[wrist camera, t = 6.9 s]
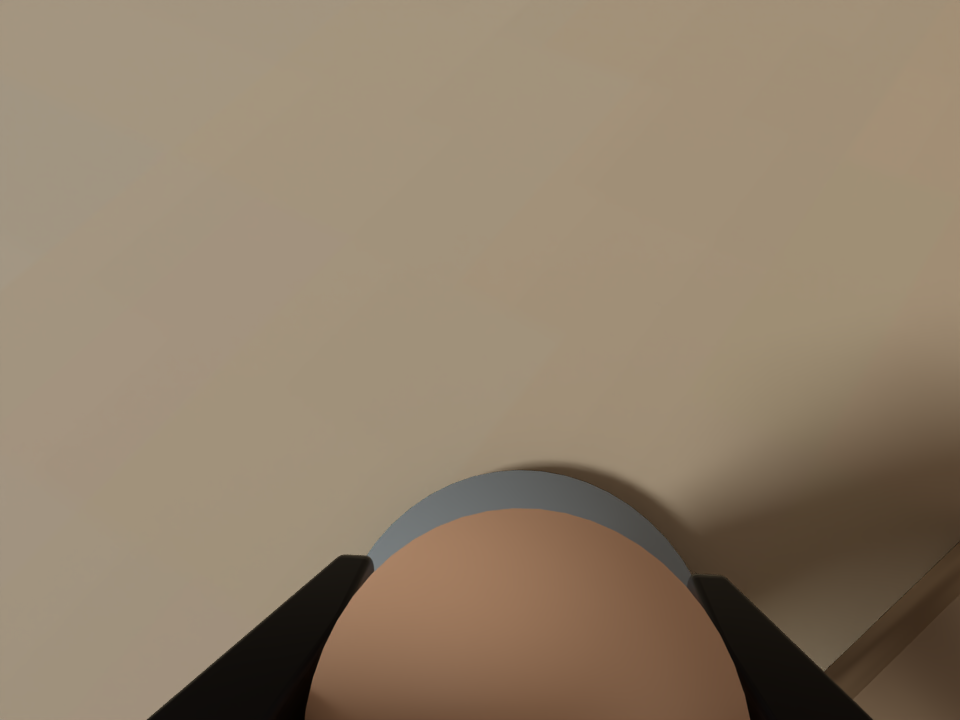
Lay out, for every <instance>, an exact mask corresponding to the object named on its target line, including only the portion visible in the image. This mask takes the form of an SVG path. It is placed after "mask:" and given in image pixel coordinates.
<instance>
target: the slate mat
mask: <svg viewBox="0 0 960 720" xmlns="http://www.w3.org/2000/svg"><path fill="white" fill-rule="evenodd" d="M511 508H522V509H543V510H549V511H556V512H562V513H567V514H570V515H574V516H577V517H581V518H584V519H587V520H591V521H593V522H596V523H598V524H600V525H602V526H605V527H607V528H609V529H612V530H614V531H616V532H618V533H620V534H621V535H623V536H625V537H626V538H628V539H630V540H631V541H633V542H635V543H636V544H638V545H640V546H641V547H643V548H644V549H645V550H646V551H648V552H649V553H650V554H652V555H653V556H654V557H655V558H657V559H658V560H659V561H661V562H662V563H663V564H664V565H665V566H666V567H667V568H668V569H669V570H670V571H671V572H672V573H673V574H674V575H675V576H676V577H677V578H678V579H679V580H680V581H681V582H682V583H683V584H684V585H685V586H686V587H687V582H688V579H689V577H690V576H691V573H690V571H689V570H688V568H687V566H686V565H685V563H684V561H683V560H682V558H681V557H680V556H679V555H678V553H677V552H676V551H675V549H674V548H673V547H672V545H671V544H670V543H669V541H668V540H667V539H666V538H665V537H664V536H663V535H662V534H661V533H660V532H659V531H658V530H657V529H656V528H655V527H654V526H653V525H652V524H651V523H650V522H649V521H648V520H647V519H646V518H645V517H643V516H642V515H641V514H640V513H638V512H637V511H636V510H635V509H633V508H632V507H631V506H630V505H628V504H626V503H625V502H623V501H622V500H620V499H618V498H617V497H615V496H613V495H612V494H610V493H609V492H607V491H604V490H602V489H600V488H598V487H596V486H593V485H591V484H589V483H587V482H584V481H581V480H577V479H574V478H571V477H568V476H565V475H559V474H554V473H548V472H543V471H526V470H513V471H501V472H493V473H488V474H483V475H479V476H474V477H470V478H468V479H465V480H462V481H459V482H456V483H454V484H451V485H449V486H447V487H445V488H443V489H441V490H439V491H437V492H435V493H433V494H431V495H429V496H428V497H426V498H425V499H423V500H422V501H420V502H419V503H417V504H416V505H414V506H413V507H411V508H410V509H409V510H408V511H407V512H405V513H404V514H403V515H402V516H401V517H400V518H399V519H397V520H396V521H395V522H394V523H393V524H392V525H391V526H390V527H389V528H388V529H387V530H386V532H385V533H384V534H383V535H382V536H381V537H380V538H379V540H378V541H377V542H376V543H375V544H374V546H373V547H372V549H371V550H370V552H369V553H368V555H367V556H369V557H370V558H371V559H372V561H373V564H374V571H376V570H377V569H378V568H379V567H380V566H381V565H382V564H383V563H384V562H385V561H386V560H387V559H388V558H389V557H390V556H392V555H393V554H394V553H396V552H397V551H399V550H400V549H401V548H403V547H404V546H405V545H407V544H408V543H410V542H411V541H412V540H414V539H416V538H417V537H419V536H421V535H423V534H425V533H427V532H428V531H430V530H432V529H434V528H436V527H438V526H440V525H443V524H446V523H448V522H451V521H453V520H456V519H458V518H461V517H465V516H469V515H473V514H477V513H481V512H485V511H492V510H502V509H511Z"/></svg>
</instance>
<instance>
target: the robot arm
mask: <svg viewBox="0 0 960 720" xmlns="http://www.w3.org/2000/svg"><path fill="white" fill-rule="evenodd" d="M373 572H374V564H373V561H372V559H371V558H370V557H369V556H364V555H341V556H339V557H337V558H336V559H335V560H334V561H333V562H331V563H330V564H329V565H328V566H327V567H325V568H324V569H323V570H322V571H321V572H320V573H318V574H317V575H316V576H315V577H314V578H313V579H311V580H310V581H309V582H308V583H307V584H305V585H304V586H303V587H302V588H301V589H300V590H298V591H297V592H296V593H295V594H294V595H293V596H291V597H290V598H289V599H288V600H287V601H286V602H284V603H283V604H282V605H281V606H280V607H278V608H277V609H276V610H275V611H274V612H273V613H271V614H270V615H269V616H268V617H267V618H266V619H264V620H263V621H262V622H261V623H260V624H259V625H257V626H256V627H255V628H254V629H253V630H251V631H250V632H249V633H248V634H247V635H246V636H244V637H243V638H242V639H241V640H240V641H239V642H237V643H236V644H235V645H234V646H233V647H232V648H230V649H229V650H228V651H227V652H226V653H224V654H223V655H222V656H221V657H220V658H219V659H217V660H216V661H215V662H214V663H213V664H212V665H210V666H209V667H208V668H207V669H206V670H205V671H203V672H202V673H201V674H200V675H199V676H197V677H196V678H195V679H194V680H193V681H192V682H190V683H189V684H188V685H187V686H186V687H185V688H183V689H182V690H181V691H180V692H179V693H177V694H176V695H175V696H174V697H173V698H172V699H170V700H169V701H168V702H167V703H166V704H165V705H163V706H162V707H161V708H160V709H159V710H158V711H156V712H155V713H154V714H153V715H152V716H150V717H149V718H148V719H147V720H305V712H306V706H307V701H308V697H309V693H310V689H311V684H312V680H313V676H314V673H315V671H316V668H317V665H318V662H319V659H320V657H321V654H322V651H323V648H324V646H325V644H326V642H327V640H328V638H329V636H330V634H331V632H332V630H333V628H334V626H335V624H336V622H337V620H338V619H339V617H340V616H341V614H342V612H343V611H344V609H345V608H346V606H347V605H348V603H349V602H350V600H351V599H352V597H353V596H354V595H355V593H356V592H357V591H358V590H359V589H360V587H361V586H362V585H363V584H364V583H365V581H366V580H367V579H368V578H369V577H370V575H371V574H372V573H373ZM687 588H688V589H689V591H690V592H691V593H692V594H693V596H694V597H695V598H696V599H697V601H698V602H699V603H700V605H701V606H702V607H703V608H704V610H705V611H706V613H707V615H708V616H709V618H710V619H711V621H712V623H713V624H714V626H715V627H716V629H717V631H718V632H719V634H720V635H721V638H722V640H723V642H724V644H725V646H726V648H727V650H728V652H729V654H730V657H731V659H732V661H733V663H734V665H735V668H736V671H737V674H738V677H739V680H740V683H741V686H742V689H743V692H744V694H745V698H746V703H747V707H748V712H749V717H750V720H873V719H872V718H871V717H870V716H869V715H868V714H867V713H866V712H865V711H864V710H863V709H862V708H861V707H860V706H859V705H858V704H857V703H856V702H855V701H854V700H853V699H852V698H851V697H850V696H849V695H847V694H846V693H845V692H844V691H843V690H842V689H841V688H840V687H839V686H838V685H837V684H836V683H835V682H834V681H833V680H832V679H831V678H830V677H829V676H828V675H827V674H826V673H825V672H824V671H823V670H822V669H820V668H819V667H818V666H817V665H816V664H815V663H814V662H813V661H812V660H811V659H810V658H809V657H808V656H807V655H806V654H805V653H804V652H803V651H802V650H801V649H800V648H799V647H798V646H797V645H796V644H795V643H793V642H792V641H791V640H790V639H789V638H788V637H787V636H786V635H785V634H784V633H783V632H782V631H781V630H780V629H779V628H778V627H777V626H776V625H775V624H774V623H773V622H772V621H771V620H770V619H769V618H767V617H766V616H765V615H764V614H763V613H762V612H761V611H760V610H759V609H758V608H757V607H756V606H755V605H754V604H753V603H752V602H751V601H750V600H749V599H748V598H747V597H746V596H745V595H744V594H743V593H742V592H740V591H739V590H738V589H737V588H736V587H735V586H734V585H733V584H732V583H731V582H730V581H729V580H728V579H727V578H725V577H724V576H721V575H711V574H693V575H691V576H690V577H689V579H688V582H687Z"/></svg>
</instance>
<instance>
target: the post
mask: <svg viewBox="0 0 960 720" xmlns="http://www.w3.org/2000/svg"><path fill="white" fill-rule="evenodd" d="M305 720H750V717H749V712H748V707H747V703H746V698H745V694H744V692H743V689H742V686H741V683H740V680H739V677H738V674H737V671H736V668H735V665H734V663H733V661H732V659H731V657H730V654H729V652H728V650H727V648H726V646H725V644H724V642H723V640H722V638H721V635H720V634H719V632H718V631H717V629H716V627H715V626H714V624H713V623H712V621H711V619H710V618H709V616H708V615H707V613H706V611H705V610H704V608H703V607H702V606H701V605H700V603H699V602H698V601H697V599H696V598H695V597H694V596H693V594H692V593H691V592H690V591H689V589H688V588H687V587H686V586H685V585H684V584H683V583H682V582H681V581H680V580H679V579H678V578H677V577H676V576H675V575H674V574H673V573H672V572H671V571H670V570H669V569H668V568H667V567H666V566H665V565H664V564H663V563H662V562H661V561H659V560H658V559H657V558H655V557H654V556H653V555H652V554H650V553H649V552H648V551H646V550H645V549H644V548H643V547H641V546H640V545H638V544H636V543H635V542H633V541H631V540H630V539H628V538H626V537H625V536H623V535H621V534H620V533H618V532H616V531H614V530H612V529H609V528H607V527H605V526H602V525H600V524H598V523H596V522H593V521H591V520H587V519H584V518H581V517H577V516H574V515H570V514H567V513H562V512H556V511H549V510H543V509H522V508H511V509H502V510H492V511H485V512H481V513H477V514H473V515H469V516H465V517H461V518H458V519H456V520H453V521H451V522H448V523H446V524H443V525H440V526H438V527H436V528H434V529H432V530H430V531H428V532H427V533H425V534H423V535H421V536H419V537H417V538H416V539H414V540H412V541H411V542H410V543H408V544H407V545H405V546H404V547H403V548H401V549H400V550H399V551H397V552H396V553H394V554H393V555H392V556H390V557H389V558H388V559H387V560H386V561H385V562H384V563H383V564H382V565H381V566H380V567H379V568H378V569H377V570H376V571H374V572H373V573H372V574H371V575H370V577H369V578H368V579H367V580H366V581H365V583H364V584H363V585H362V586H361V587H360V589H359V590H358V591H357V592H356V593H355V595H354V596H353V597H352V599H351V600H350V602H349V603H348V605H347V606H346V608H345V609H344V611H343V612H342V614H341V616H340V617H339V619H338V620H337V622H336V624H335V626H334V628H333V630H332V632H331V634H330V636H329V638H328V640H327V642H326V644H325V646H324V648H323V651H322V654H321V657H320V659H319V662H318V665H317V668H316V671H315V673H314V676H313V680H312V684H311V689H310V693H309V697H308V701H307V706H306V712H305Z"/></svg>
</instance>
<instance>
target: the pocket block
mask: <svg viewBox="0 0 960 720" xmlns="http://www.w3.org/2000/svg"><path fill="white" fill-rule="evenodd" d="M825 673H826V674H827V675H828V676H829V677H830V678H831V679H832V680H833V681H834V682H835V683H836V684H837V685H838V686H839V687H840V688H841V689H842V690H843V691H844V692H845V693H846V694H847V695H849V696H850V697H851V698H852V699H853V700H854V701H855V702H856V703H857V704H858V705H859V706H860V707H861V708H862V709H863V710H864V711H865V712H866V713H867V714H868V715H869V716H870V717H871V718H872V719H873V720H960V542H959V543H958V544H957V545H956V546H955V547H954V548H953V549H952V550H951V551H950V552H949V553H947V554H946V555H945V556H944V557H943V558H942V559H941V560H940V561H939V562H938V563H937V564H936V565H935V566H934V567H933V568H932V569H931V570H930V571H929V572H928V573H927V574H926V575H925V576H924V577H923V578H921V579H920V580H919V581H918V582H917V583H916V584H915V585H914V586H913V587H912V588H911V589H910V590H909V591H908V592H907V593H906V594H905V595H904V596H903V597H902V598H901V599H900V600H899V601H898V602H896V603H895V604H894V605H893V606H892V607H891V608H890V609H889V610H888V611H887V612H886V613H885V614H884V615H883V616H882V617H881V618H880V619H879V620H878V621H877V622H876V623H875V624H874V625H873V626H871V627H870V628H869V629H868V630H867V631H866V632H865V633H864V634H863V635H862V636H861V637H860V638H859V639H858V640H857V641H856V642H855V643H854V644H853V645H852V646H851V647H850V648H849V649H848V650H846V651H845V652H844V653H843V654H842V655H841V656H840V657H839V658H838V659H837V660H836V661H835V662H834V663H833V664H832V665H831V666H830V667H829V668H828V669H827V670H826V671H825Z"/></svg>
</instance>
